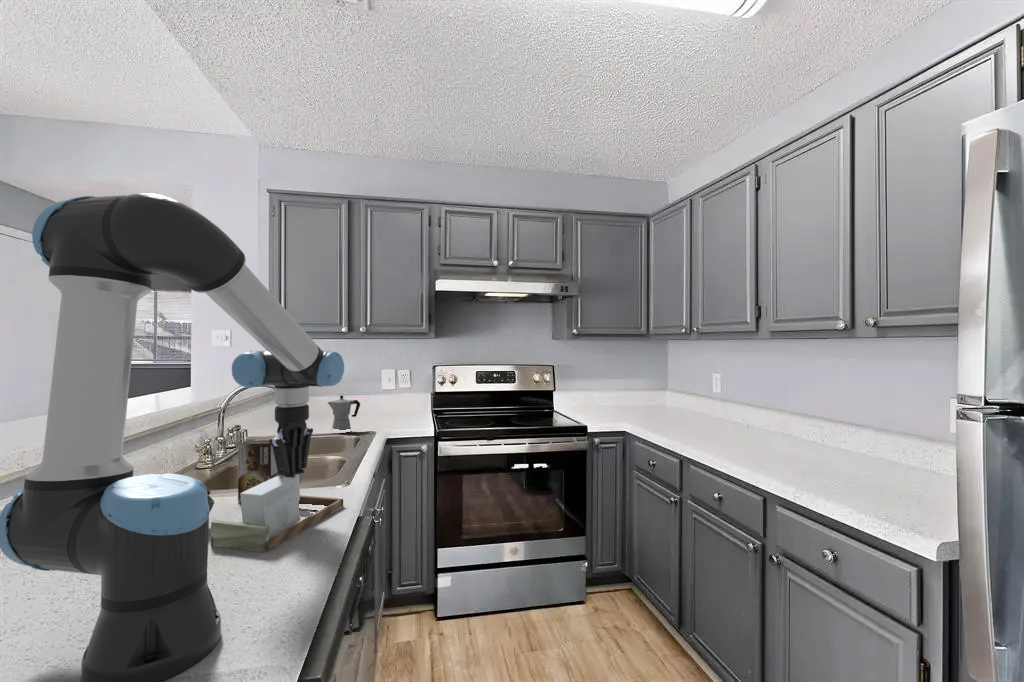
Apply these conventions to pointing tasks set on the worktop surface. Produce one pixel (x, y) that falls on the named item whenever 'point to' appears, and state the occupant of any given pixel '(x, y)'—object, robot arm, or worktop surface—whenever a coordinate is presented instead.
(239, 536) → the track
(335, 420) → the coffeepot
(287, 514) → the skincare box
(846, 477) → the worktop surface
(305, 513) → the trap pits
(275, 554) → the worktop surface
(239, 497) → the coffee box
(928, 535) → the worktop surface
